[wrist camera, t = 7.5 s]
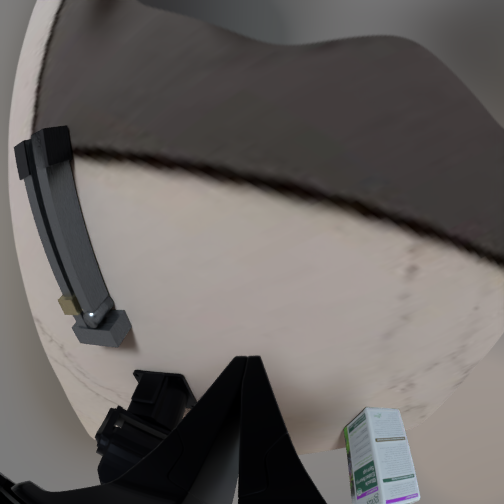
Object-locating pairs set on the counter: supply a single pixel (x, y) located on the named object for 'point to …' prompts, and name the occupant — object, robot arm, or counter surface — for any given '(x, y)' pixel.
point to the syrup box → (380, 459)
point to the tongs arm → (69, 222)
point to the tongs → (115, 320)
